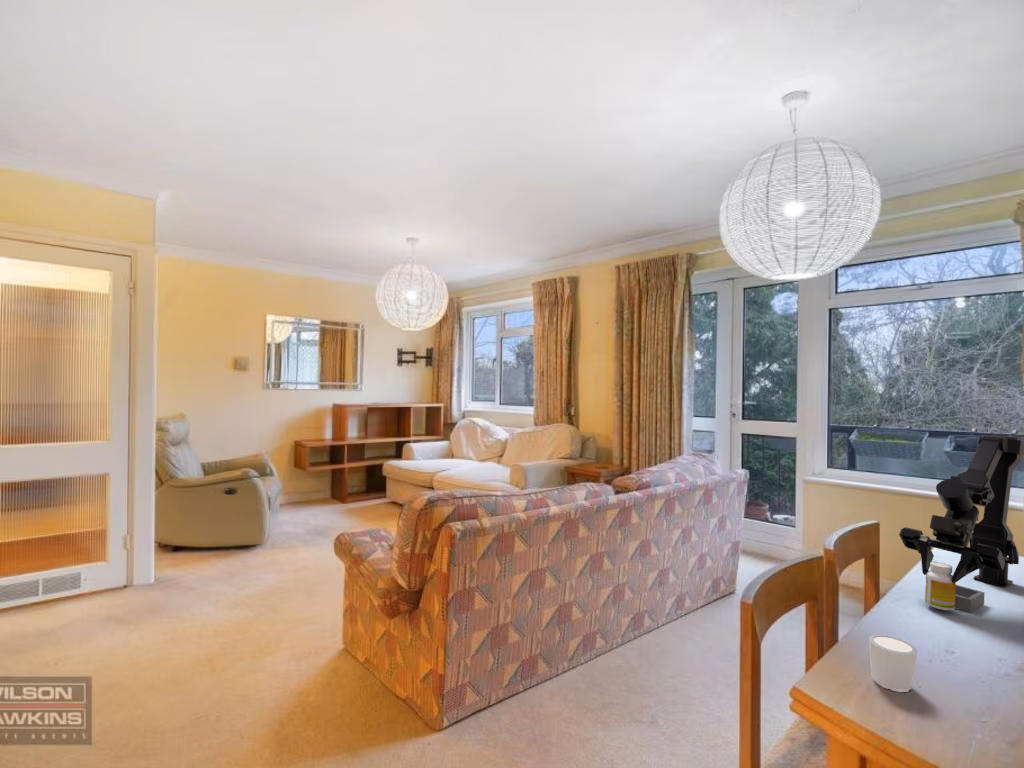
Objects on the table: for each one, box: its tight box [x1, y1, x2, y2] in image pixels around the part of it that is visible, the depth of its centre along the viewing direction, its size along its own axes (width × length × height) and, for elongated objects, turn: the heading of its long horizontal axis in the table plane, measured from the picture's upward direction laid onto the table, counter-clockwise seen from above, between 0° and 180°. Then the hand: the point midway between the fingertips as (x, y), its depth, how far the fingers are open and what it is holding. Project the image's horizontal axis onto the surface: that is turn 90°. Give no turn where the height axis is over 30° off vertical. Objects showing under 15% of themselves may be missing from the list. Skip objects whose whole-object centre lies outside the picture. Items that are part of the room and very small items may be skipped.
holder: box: [955, 584, 985, 614], centre depth 126 cm, size 9×9×3 cm
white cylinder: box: [868, 634, 918, 689], centre depth 91 cm, size 7×7×7 cm
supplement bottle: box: [924, 561, 957, 611], centre depth 121 cm, size 5×5×10 cm
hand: (938, 577), depth 120 cm, fingers closed on supplement bottle, 5 cm apart
